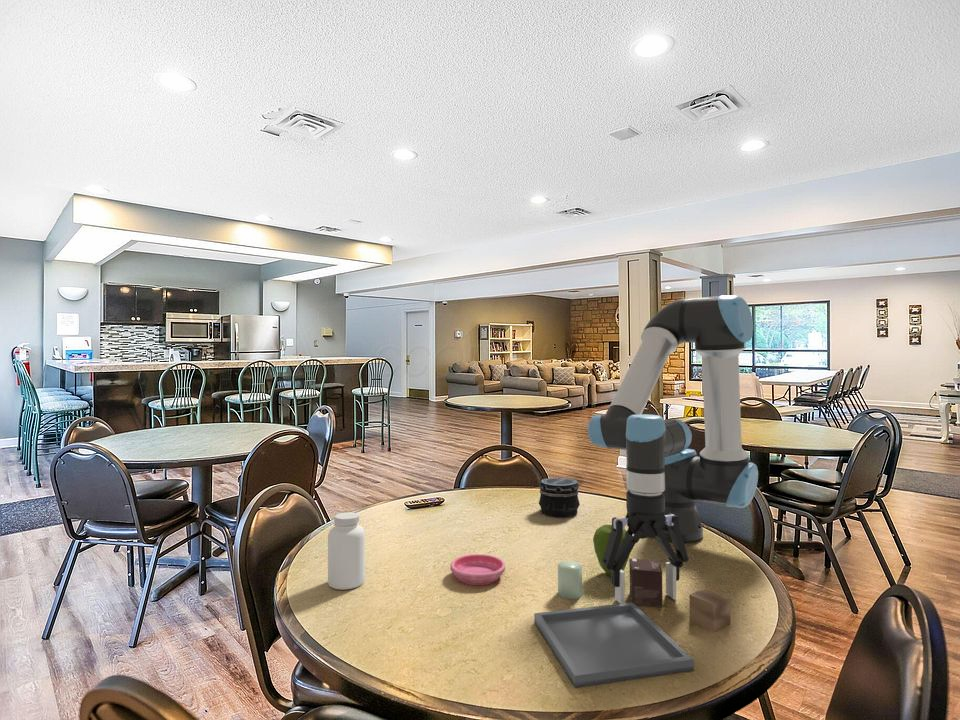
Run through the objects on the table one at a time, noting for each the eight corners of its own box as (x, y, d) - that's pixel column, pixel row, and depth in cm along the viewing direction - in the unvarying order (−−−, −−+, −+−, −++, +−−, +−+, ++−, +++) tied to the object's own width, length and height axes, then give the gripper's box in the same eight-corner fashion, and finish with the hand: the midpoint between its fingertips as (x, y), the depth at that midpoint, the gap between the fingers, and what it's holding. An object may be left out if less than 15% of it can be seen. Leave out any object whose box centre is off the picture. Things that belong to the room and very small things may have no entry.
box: (663, 608, 106) (662, 571, 106) (631, 605, 108) (631, 569, 107) (659, 594, 112) (658, 559, 112) (629, 592, 114) (629, 557, 113)
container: (539, 506, 178) (539, 476, 178) (578, 507, 176) (578, 477, 176) (538, 517, 165) (537, 485, 165) (580, 519, 163) (580, 486, 163)
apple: (585, 570, 125) (585, 521, 125) (615, 564, 128) (615, 516, 128) (609, 585, 117) (608, 532, 117) (640, 578, 120) (639, 527, 120)
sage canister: (576, 587, 116) (576, 559, 116) (585, 598, 111) (585, 569, 111) (554, 589, 115) (554, 562, 115) (562, 600, 110) (562, 571, 110)
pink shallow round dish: (478, 562, 131) (478, 549, 131) (516, 577, 122) (516, 563, 122) (439, 577, 122) (439, 563, 122) (477, 594, 113) (477, 579, 113)
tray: (632, 611, 105) (632, 602, 105) (693, 670, 85) (693, 659, 85) (534, 622, 101) (534, 613, 101) (574, 687, 81) (574, 675, 81)
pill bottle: (371, 578, 122) (371, 511, 121) (352, 593, 114) (351, 522, 114) (341, 573, 124) (341, 508, 124) (320, 588, 117) (319, 519, 116)
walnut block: (706, 613, 104) (706, 588, 104) (730, 624, 100) (730, 597, 100) (689, 620, 101) (689, 594, 101) (713, 632, 97) (713, 604, 97)
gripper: (685, 483, 116) (686, 585, 116) (584, 490, 111) (584, 596, 111) (707, 492, 108) (707, 601, 109) (600, 499, 104) (600, 613, 104)
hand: (645, 598), depth 110 cm, fingers open, 11 cm apart
